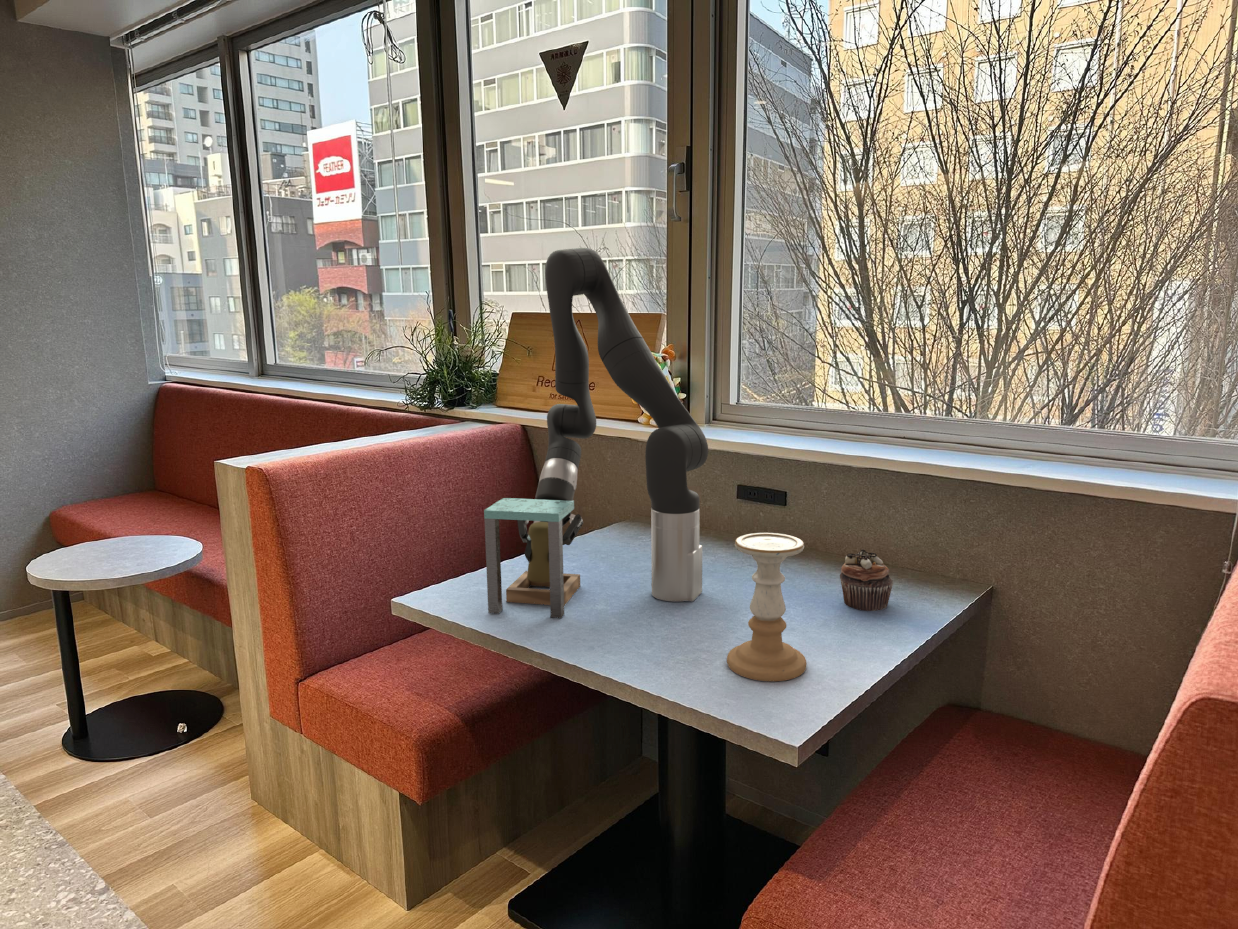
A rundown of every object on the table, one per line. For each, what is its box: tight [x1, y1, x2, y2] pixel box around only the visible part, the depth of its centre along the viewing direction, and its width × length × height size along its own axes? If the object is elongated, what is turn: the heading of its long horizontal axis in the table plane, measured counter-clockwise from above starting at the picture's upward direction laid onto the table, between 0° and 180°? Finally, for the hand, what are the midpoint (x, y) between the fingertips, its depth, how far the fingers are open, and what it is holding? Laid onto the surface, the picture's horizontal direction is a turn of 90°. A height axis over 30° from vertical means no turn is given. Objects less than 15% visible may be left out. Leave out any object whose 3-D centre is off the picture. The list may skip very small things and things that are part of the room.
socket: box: [505, 570, 581, 607], centre depth 167 cm, size 12×12×2 cm
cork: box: [527, 522, 550, 583], centre depth 165 cm, size 6×6×11 cm
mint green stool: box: [483, 497, 575, 619], centre depth 158 cm, size 10×14×20 cm
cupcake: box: [839, 549, 894, 612], centre depth 159 cm, size 10×10×10 cm
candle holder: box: [726, 532, 808, 682], centre depth 131 cm, size 12×12×20 cm
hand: (540, 560), depth 164 cm, fingers closed on cork, 3 cm apart
